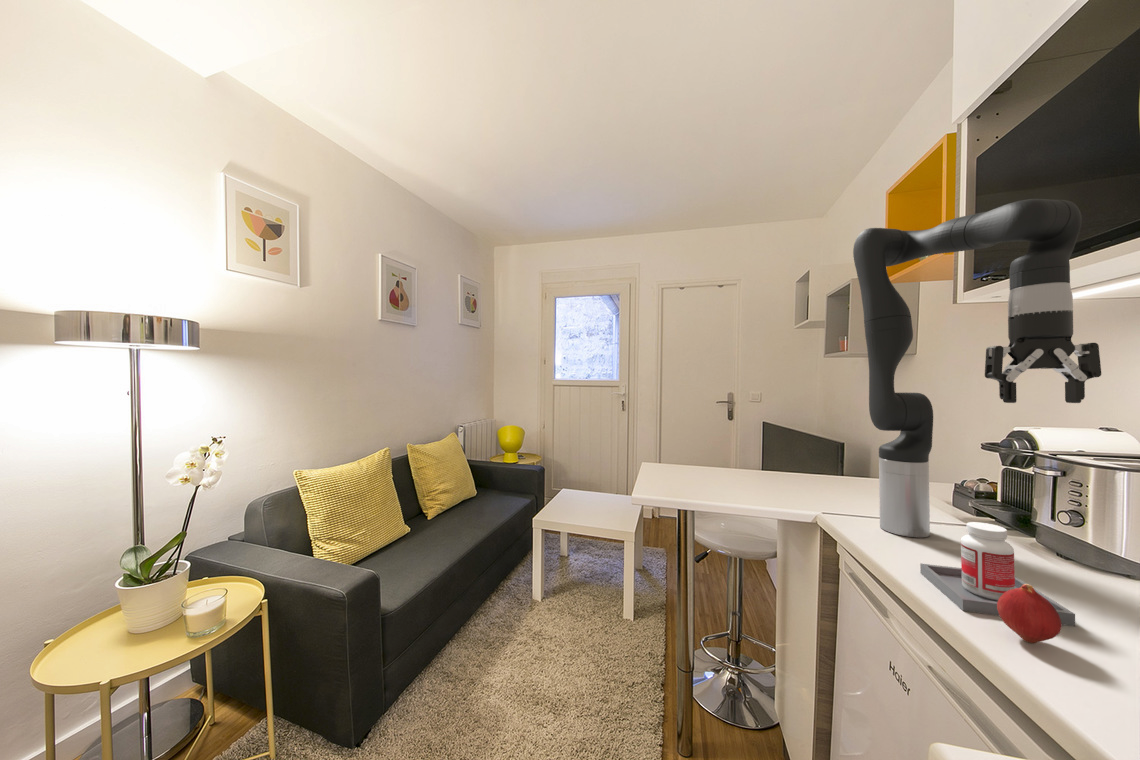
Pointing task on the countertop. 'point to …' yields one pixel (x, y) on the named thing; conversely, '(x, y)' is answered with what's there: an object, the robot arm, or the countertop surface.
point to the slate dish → (952, 587)
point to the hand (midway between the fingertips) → (1040, 402)
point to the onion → (1029, 614)
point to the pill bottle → (987, 561)
